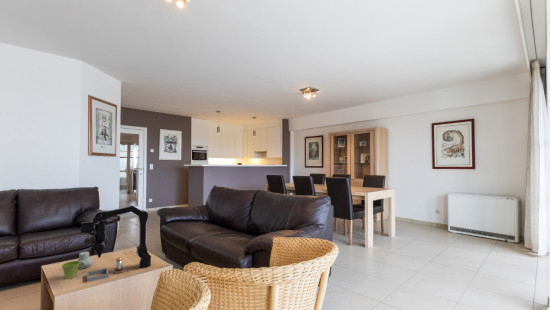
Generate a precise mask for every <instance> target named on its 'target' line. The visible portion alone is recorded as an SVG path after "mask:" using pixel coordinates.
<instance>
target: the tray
mask: <svg viewBox="0 0 550 310" xmlns="http://www.w3.org/2000/svg"><path fill="white" fill-rule="evenodd" d="M108 270H109V269H108V267H107V268H101V269H96V270H91V271H87V272H86V283H90V282H93V281H94V282H95V281H98V280H103V279H107V278H109V275H110V274H109V273H110V272H109V271H108ZM104 273H105V274H104Z"/></svg>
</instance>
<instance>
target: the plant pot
mask: <svg viewBox="0 0 550 310" xmlns="http://www.w3.org/2000/svg"><path fill="white" fill-rule="evenodd" d="M79 263H80V261H77V260H71V261H68V262H65V263H63V264H61V267H62V269H63V275H64V276H63V277H64V279H66V280H70V279H71V280H72V279H74V278H76V277H77V276H78V271H79V268H78V266H79Z"/></svg>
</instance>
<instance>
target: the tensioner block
mask: <svg viewBox="0 0 550 310" xmlns="http://www.w3.org/2000/svg"><path fill="white" fill-rule="evenodd" d="M128 272H129V270H128V267H127V266H124V267H123V266H122V271H118V272H117V266H116V267H115V268H114V269H109V273H110V274H109V275H110V276H111V277H112V276H116V275H120V274H126V273H128Z"/></svg>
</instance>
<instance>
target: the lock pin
mask: <svg viewBox="0 0 550 310" xmlns="http://www.w3.org/2000/svg"><path fill="white" fill-rule="evenodd" d="M123 258H124V257H122V256H121V257H117V258H115V261H116V267H117V272H118V271H122V267H123Z"/></svg>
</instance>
